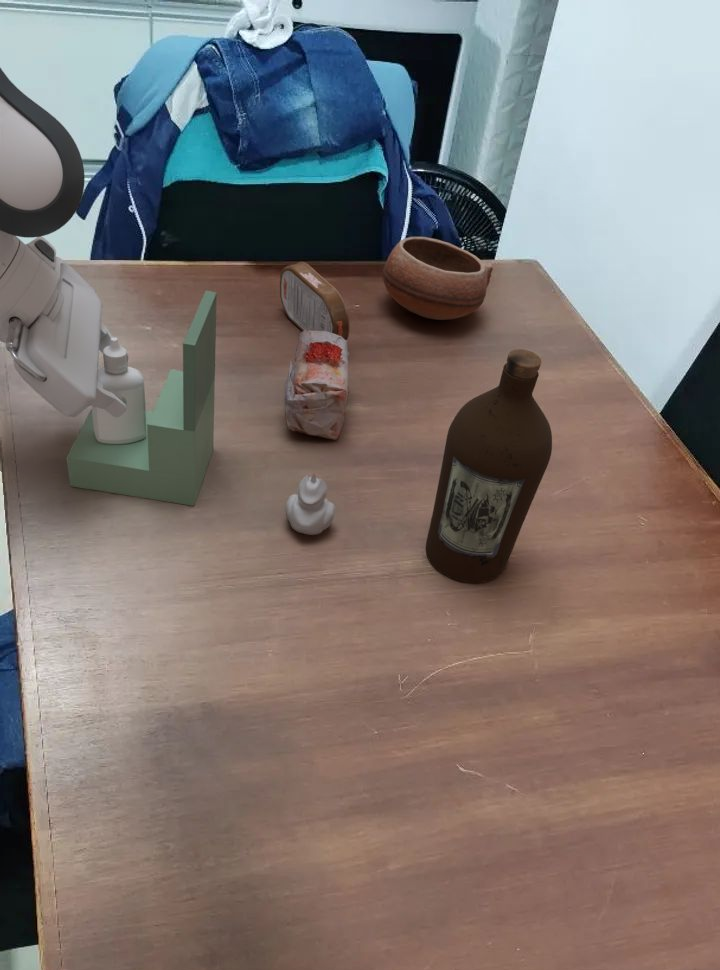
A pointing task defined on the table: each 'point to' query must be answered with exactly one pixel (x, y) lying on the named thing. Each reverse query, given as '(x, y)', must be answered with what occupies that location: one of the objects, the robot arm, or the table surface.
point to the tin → (312, 301)
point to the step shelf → (161, 430)
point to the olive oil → (490, 475)
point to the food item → (318, 385)
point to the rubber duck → (310, 507)
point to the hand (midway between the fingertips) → (123, 386)
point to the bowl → (436, 278)
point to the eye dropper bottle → (130, 388)
